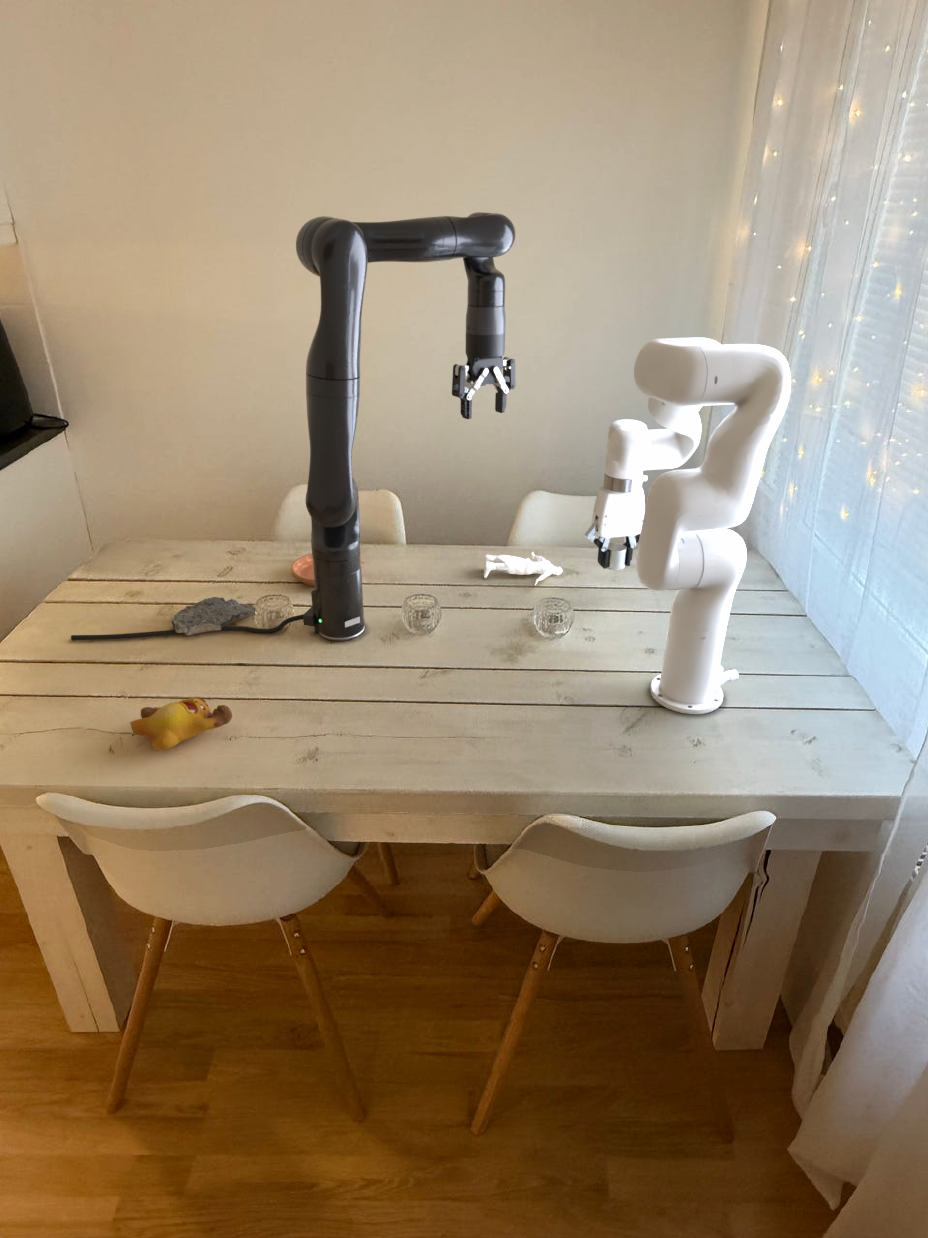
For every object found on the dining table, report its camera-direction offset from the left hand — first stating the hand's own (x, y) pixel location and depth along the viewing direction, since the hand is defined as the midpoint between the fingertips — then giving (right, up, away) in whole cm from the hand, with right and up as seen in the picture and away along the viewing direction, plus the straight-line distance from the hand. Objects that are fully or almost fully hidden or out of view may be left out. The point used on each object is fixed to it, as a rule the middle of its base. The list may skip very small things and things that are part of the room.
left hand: (483, 415), depth 162 cm
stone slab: (-56, -41, +5) cm, 70 cm away
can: (+28, -29, +11) cm, 42 cm away
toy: (-50, -60, -29) cm, 83 cm away
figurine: (+10, -30, +27) cm, 42 cm away
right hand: (+28, -29, +11) cm, 42 cm away
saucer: (-35, -31, +25) cm, 53 cm away
